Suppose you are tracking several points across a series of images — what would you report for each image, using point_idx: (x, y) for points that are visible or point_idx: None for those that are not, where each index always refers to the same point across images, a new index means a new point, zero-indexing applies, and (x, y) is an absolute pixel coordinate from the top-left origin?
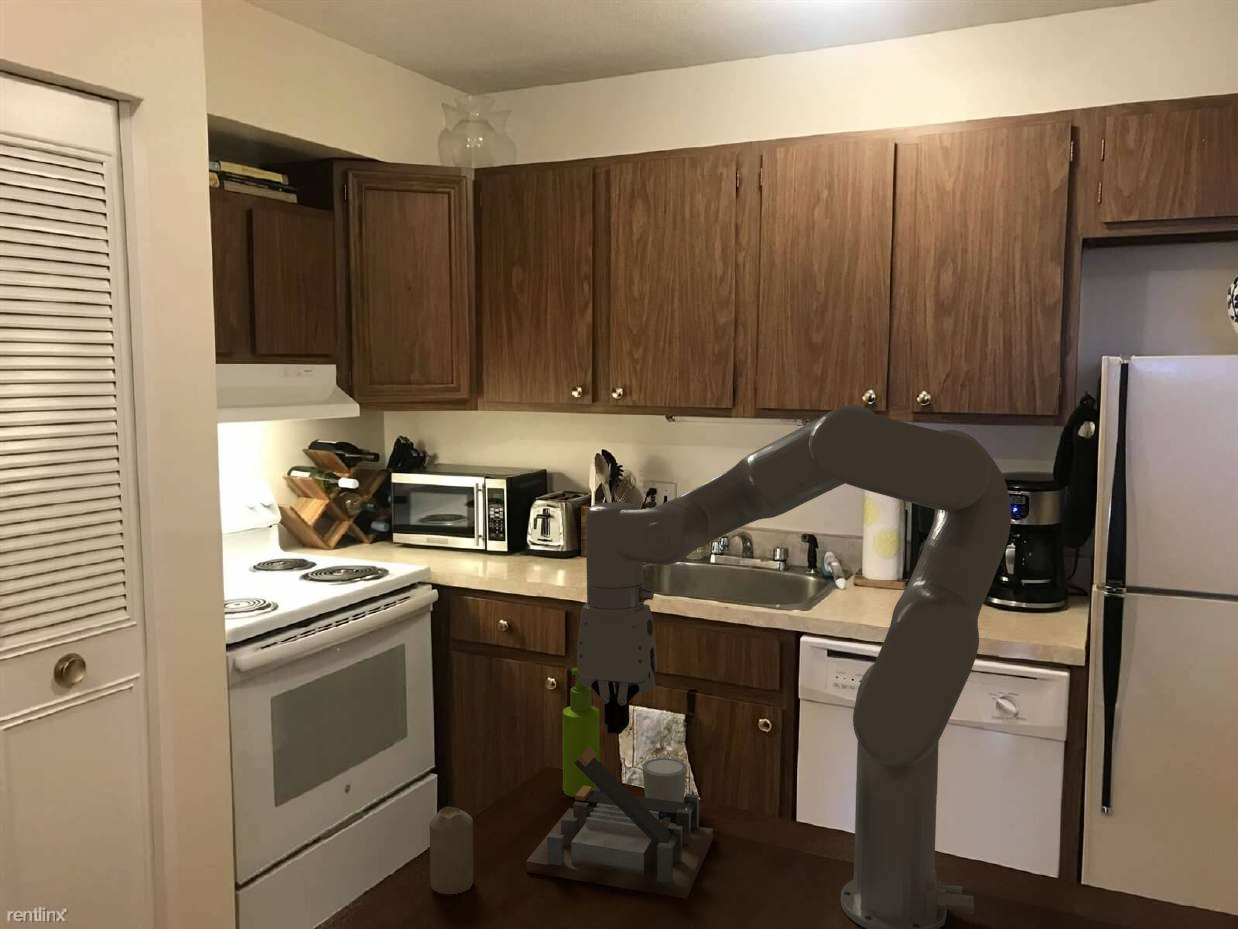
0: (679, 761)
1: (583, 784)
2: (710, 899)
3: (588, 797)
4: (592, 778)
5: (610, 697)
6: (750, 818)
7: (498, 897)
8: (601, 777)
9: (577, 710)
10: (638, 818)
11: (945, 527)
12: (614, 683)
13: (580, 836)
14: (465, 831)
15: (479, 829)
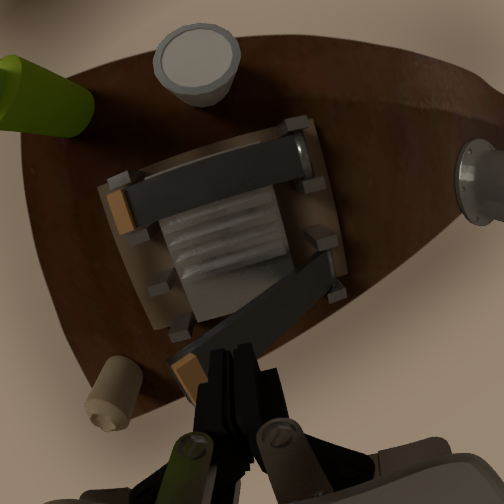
0: (210, 27)
1: (76, 125)
2: (363, 254)
3: (134, 214)
4: None
5: (236, 481)
6: (320, 49)
7: None
8: None
9: None
10: (302, 314)
11: None
12: (205, 488)
13: (197, 305)
14: (129, 417)
15: (53, 277)
